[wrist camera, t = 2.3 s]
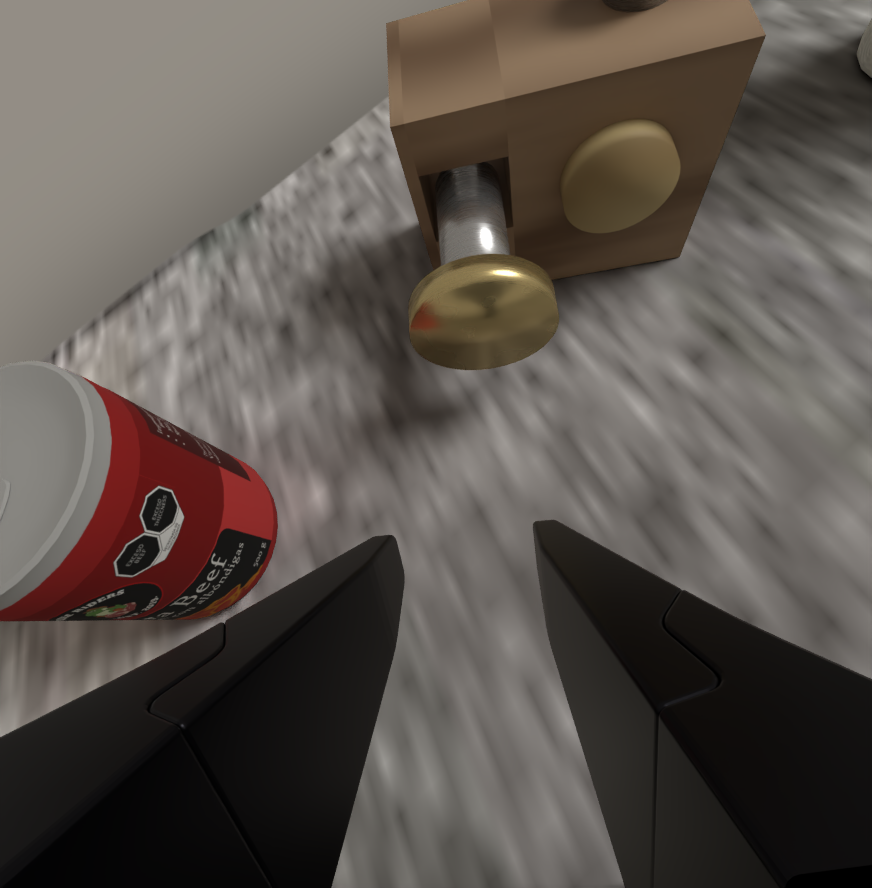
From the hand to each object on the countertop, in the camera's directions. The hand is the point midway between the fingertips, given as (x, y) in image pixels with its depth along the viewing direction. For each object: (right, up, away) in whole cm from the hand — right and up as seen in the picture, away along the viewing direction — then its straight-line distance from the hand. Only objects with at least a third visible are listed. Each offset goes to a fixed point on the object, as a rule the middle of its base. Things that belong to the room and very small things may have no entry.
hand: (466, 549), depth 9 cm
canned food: (-12, -3, +15) cm, 20 cm away
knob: (+2, +9, +13) cm, 16 cm away
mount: (+6, +14, +17) cm, 23 cm away
